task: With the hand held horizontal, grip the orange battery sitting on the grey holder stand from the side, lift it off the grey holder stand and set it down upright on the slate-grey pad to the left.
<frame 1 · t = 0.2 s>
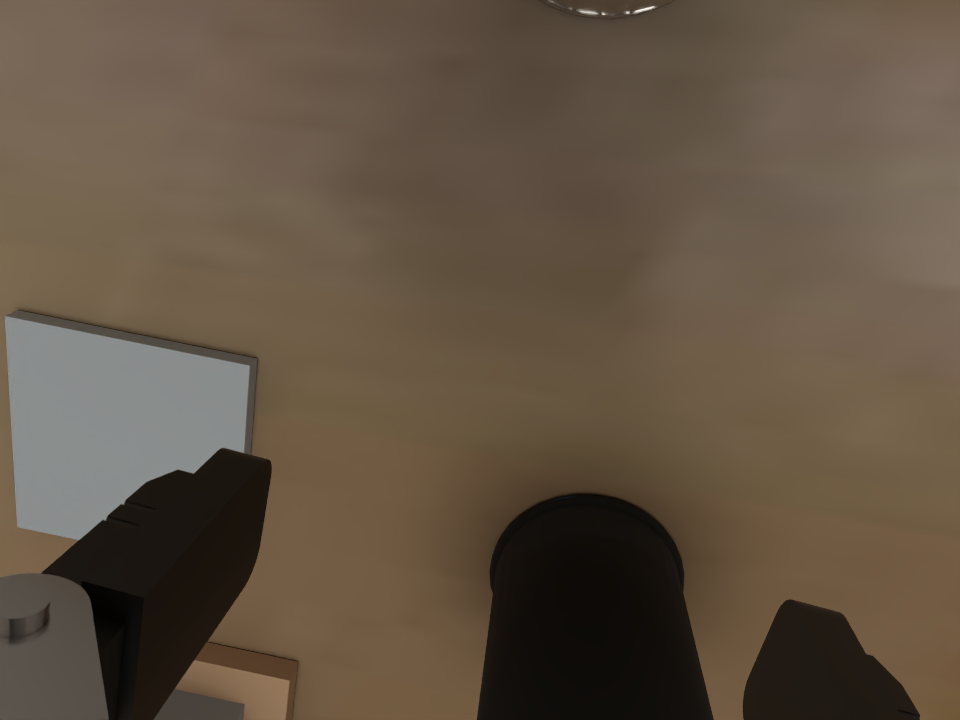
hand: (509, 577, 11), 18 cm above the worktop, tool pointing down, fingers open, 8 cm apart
pad: (136, 442, 32), on the worktop
aerosol can: (585, 573, 32), on the worktop
grey holder stand: (212, 707, 37), on the worktop
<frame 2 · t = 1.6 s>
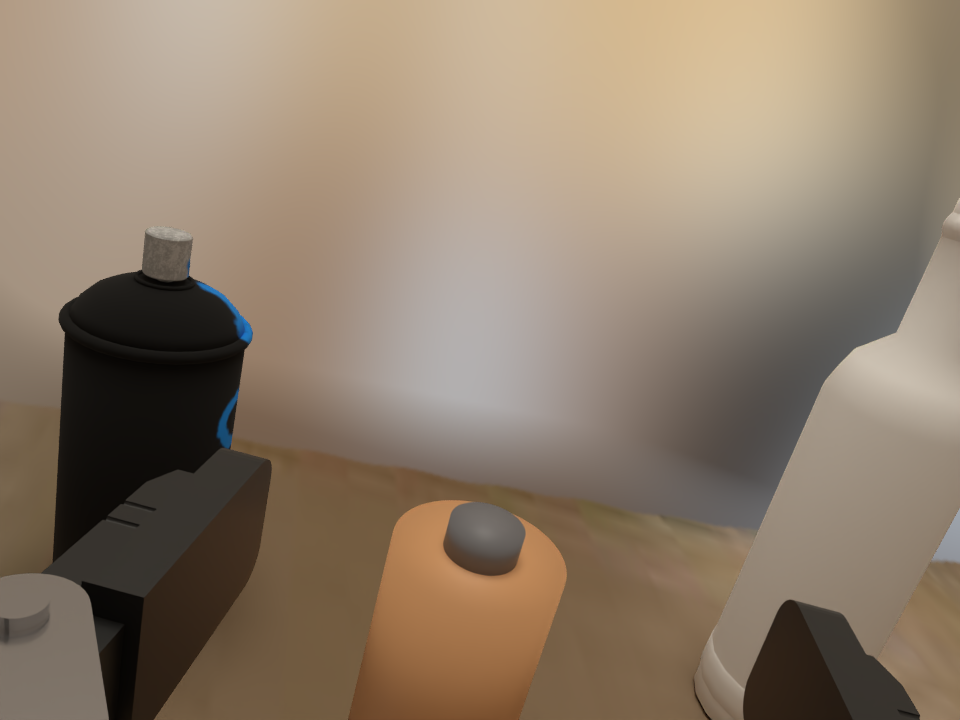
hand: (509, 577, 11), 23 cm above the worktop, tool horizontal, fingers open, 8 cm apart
aerosol can: (133, 598, 40), on the worktop
bottle: (757, 712, 44), on the worktop
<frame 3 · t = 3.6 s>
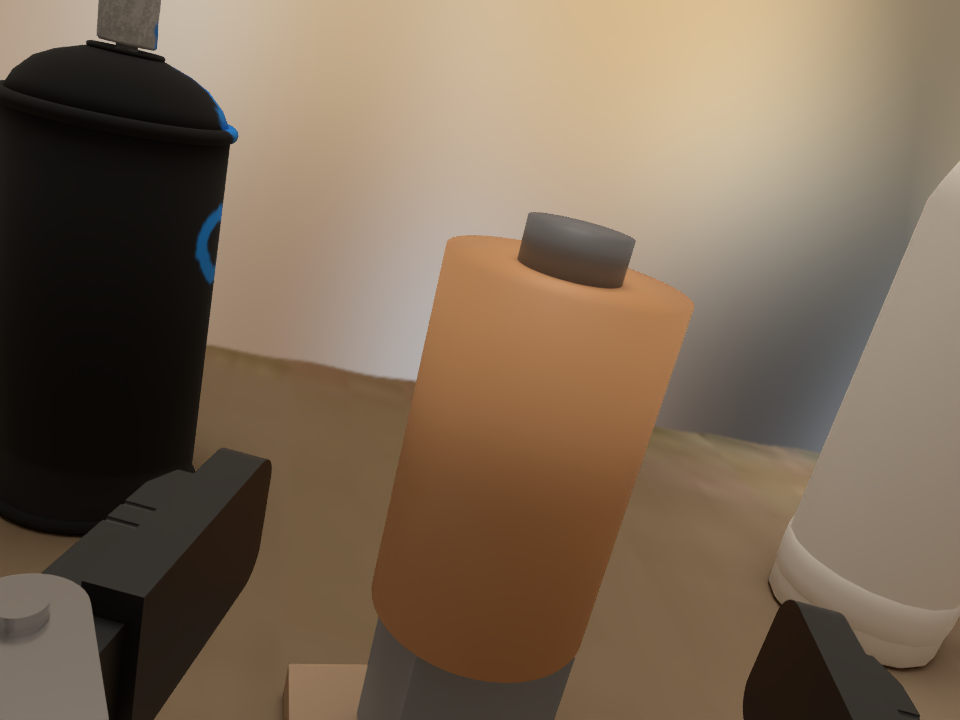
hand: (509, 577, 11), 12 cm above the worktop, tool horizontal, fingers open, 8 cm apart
aerosol can: (95, 486, 33), on the worktop
bottle: (845, 616, 37), on the worktop
orange battery: (478, 601, 20), point 7 cm above the worktop, touching grey holder stand
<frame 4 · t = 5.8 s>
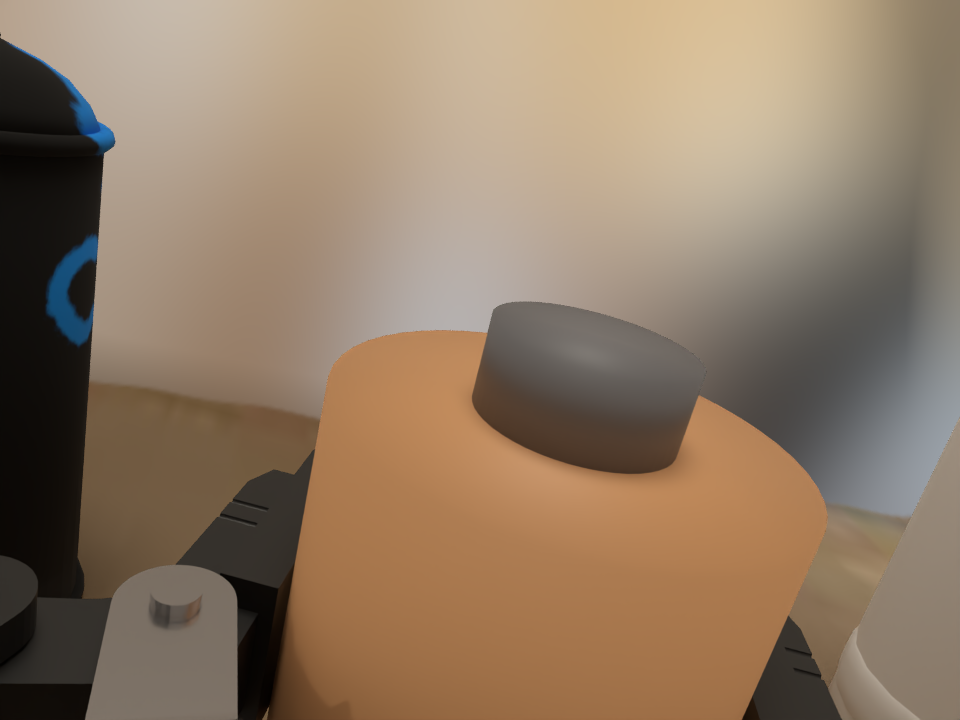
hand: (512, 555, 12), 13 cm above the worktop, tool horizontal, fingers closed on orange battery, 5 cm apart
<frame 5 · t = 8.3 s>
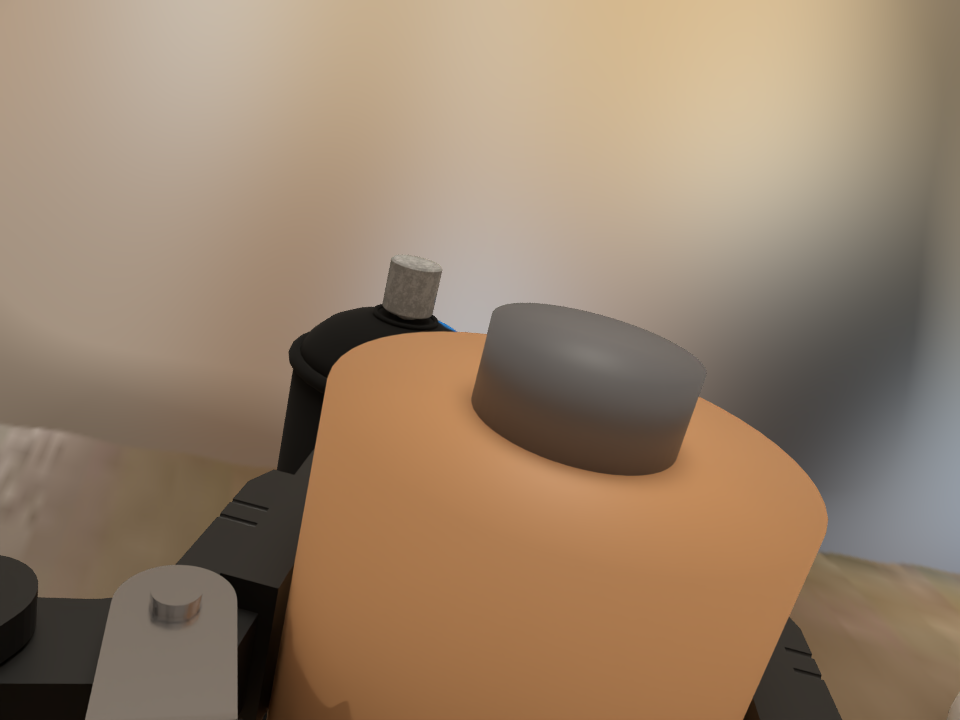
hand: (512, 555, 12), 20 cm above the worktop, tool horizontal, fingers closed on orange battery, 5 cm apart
aerosol can: (329, 680, 35), on the worktop
when the fingers open (8 cm above the worktop, at t = 11.3 s): orange battery drops 1 cm, resting on pad.
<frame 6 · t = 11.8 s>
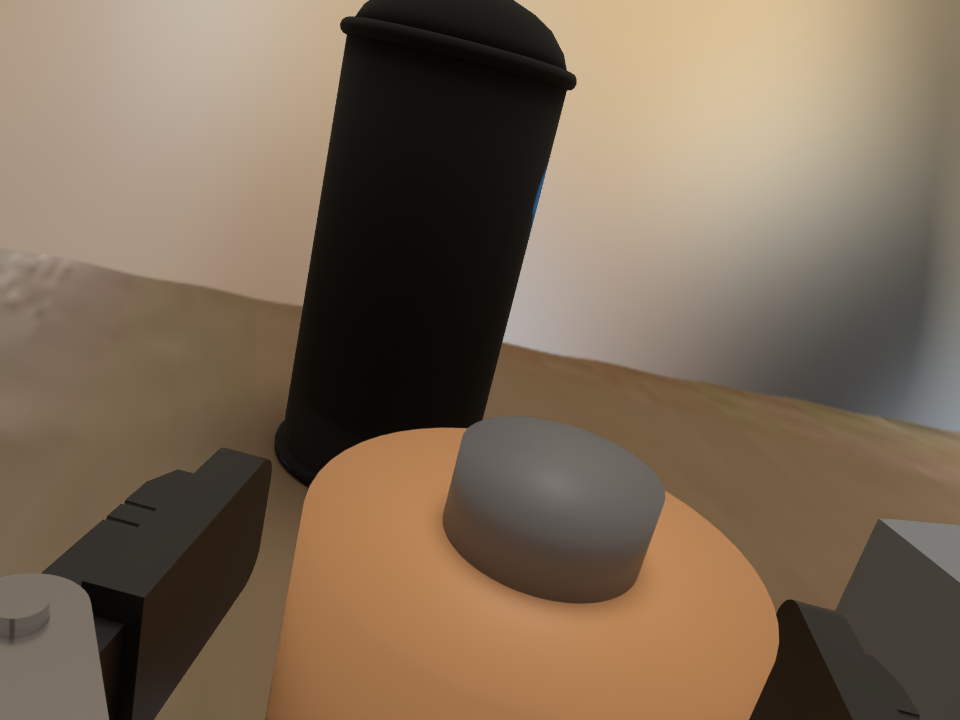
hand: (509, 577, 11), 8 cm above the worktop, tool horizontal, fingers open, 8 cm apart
aerosol can: (375, 459, 31), on the worktop
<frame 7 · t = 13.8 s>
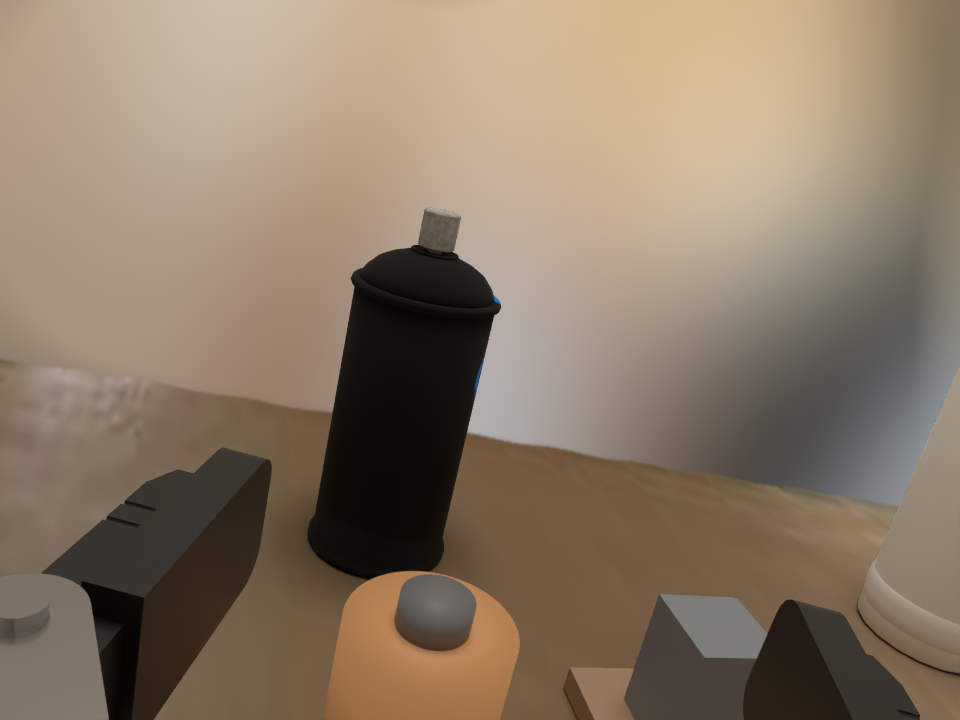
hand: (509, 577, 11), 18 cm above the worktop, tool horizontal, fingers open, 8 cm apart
aerosol can: (375, 542, 45), on the worktop
bottle: (918, 636, 49), on the worktop
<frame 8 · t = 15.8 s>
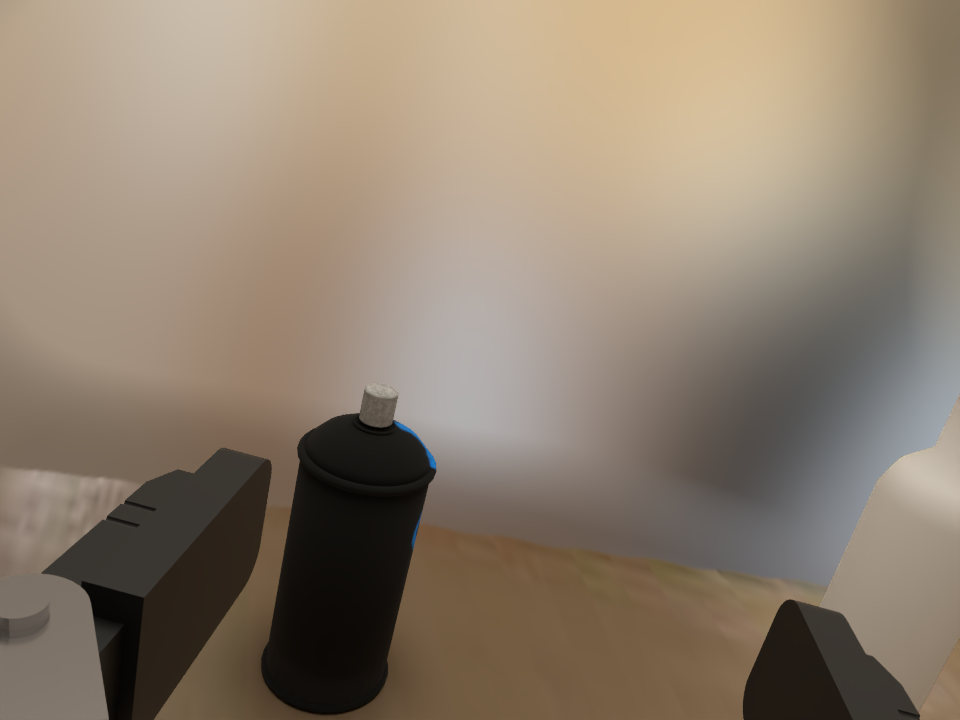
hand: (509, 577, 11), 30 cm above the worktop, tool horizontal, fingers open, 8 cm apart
aerosol can: (324, 667, 49), on the worktop
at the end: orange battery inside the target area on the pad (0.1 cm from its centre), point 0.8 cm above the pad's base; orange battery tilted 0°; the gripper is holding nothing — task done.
